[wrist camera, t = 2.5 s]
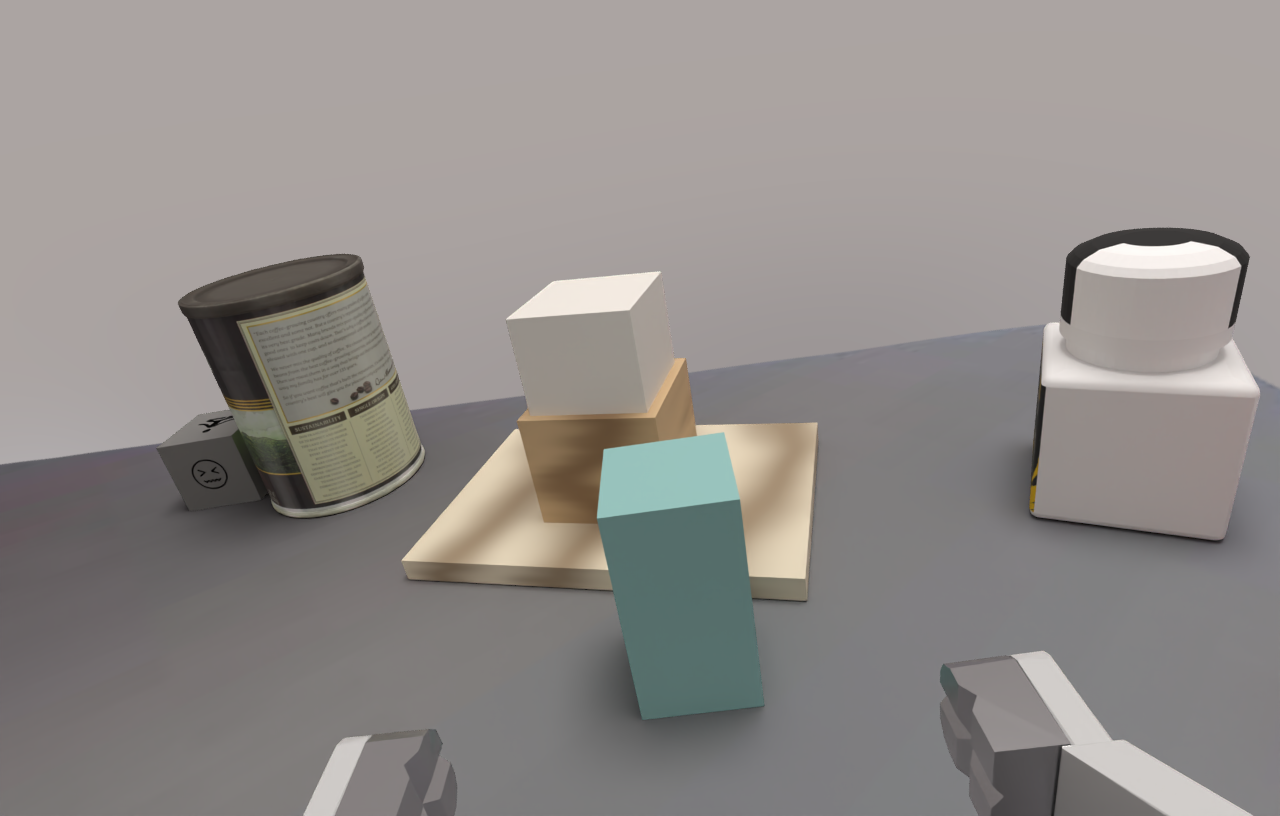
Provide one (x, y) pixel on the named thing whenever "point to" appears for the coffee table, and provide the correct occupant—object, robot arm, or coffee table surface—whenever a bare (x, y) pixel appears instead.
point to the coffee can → (309, 382)
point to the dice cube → (212, 463)
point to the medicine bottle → (1145, 386)
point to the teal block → (680, 575)
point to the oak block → (597, 447)
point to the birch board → (573, 552)
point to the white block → (593, 345)
